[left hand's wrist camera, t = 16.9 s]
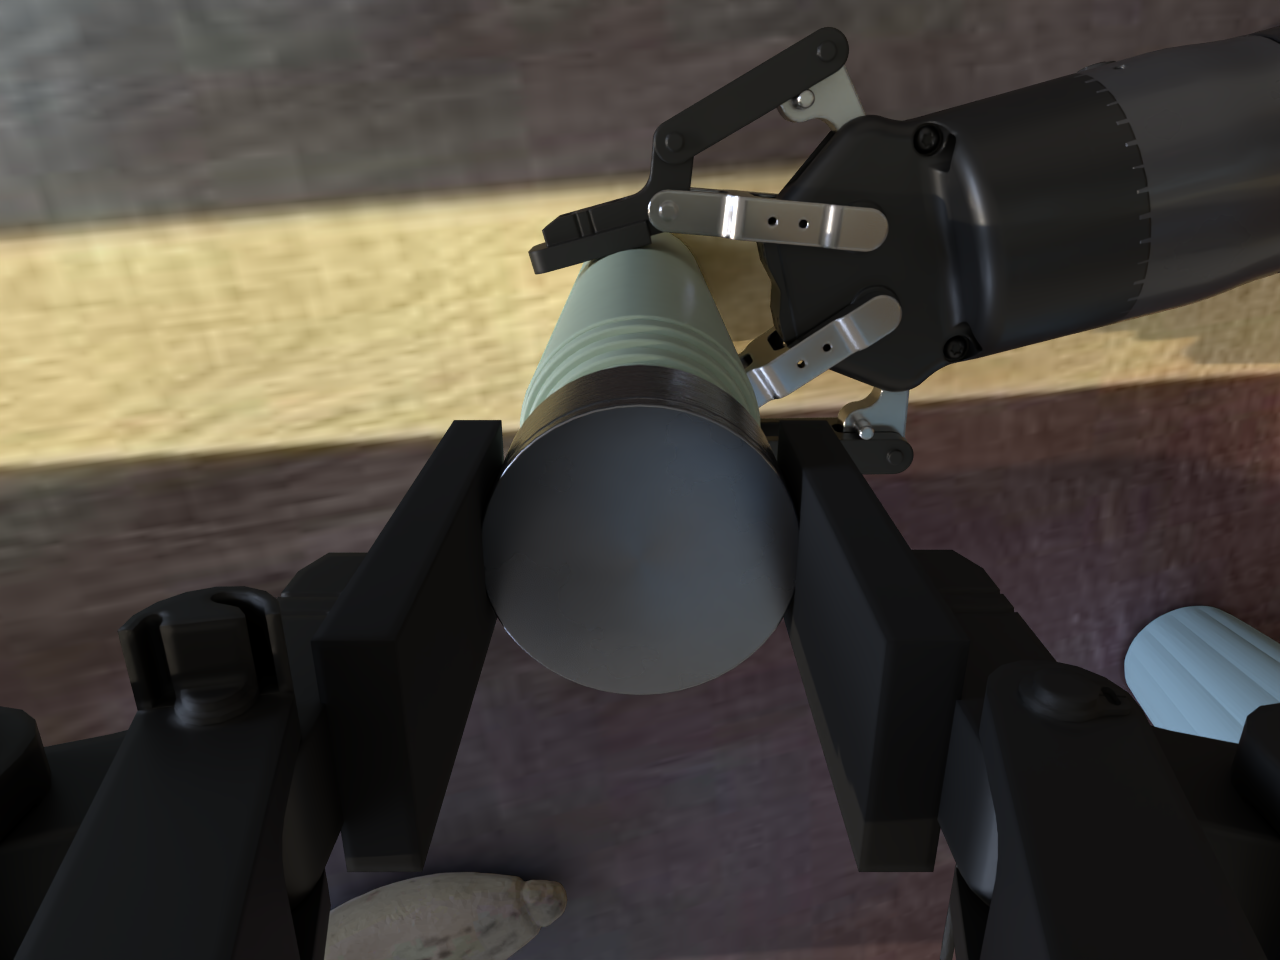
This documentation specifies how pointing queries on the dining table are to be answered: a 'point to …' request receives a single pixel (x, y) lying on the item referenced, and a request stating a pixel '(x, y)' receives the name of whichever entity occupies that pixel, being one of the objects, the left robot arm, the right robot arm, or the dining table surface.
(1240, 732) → the cup
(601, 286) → the bottle
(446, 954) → the decorative stone
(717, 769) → the dining table surface
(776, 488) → the cap
